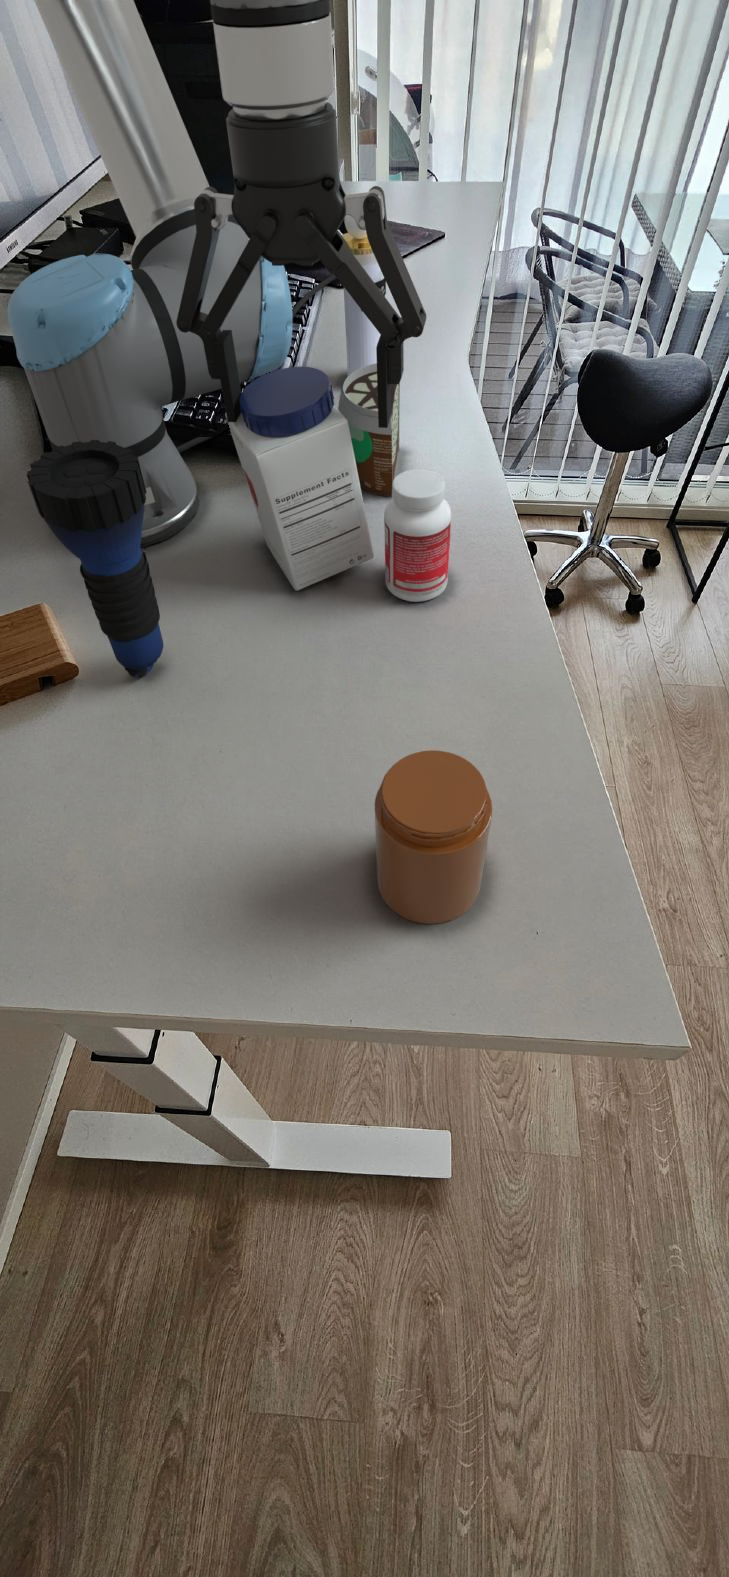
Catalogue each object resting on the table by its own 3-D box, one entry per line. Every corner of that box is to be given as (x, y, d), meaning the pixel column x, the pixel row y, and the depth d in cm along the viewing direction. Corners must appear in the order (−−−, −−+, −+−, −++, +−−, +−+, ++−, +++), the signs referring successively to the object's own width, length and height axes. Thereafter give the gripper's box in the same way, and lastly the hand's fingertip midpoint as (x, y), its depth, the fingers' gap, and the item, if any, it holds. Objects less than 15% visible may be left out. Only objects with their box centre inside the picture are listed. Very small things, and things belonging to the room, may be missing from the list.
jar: (380, 833, 62) (377, 742, 54) (480, 837, 62) (493, 746, 53) (374, 921, 58) (370, 836, 49) (481, 926, 57) (496, 842, 49)
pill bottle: (460, 589, 80) (467, 487, 71) (409, 612, 78) (410, 510, 69) (422, 557, 83) (426, 456, 74) (373, 579, 81) (370, 478, 72)
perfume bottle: (335, 379, 107) (324, 199, 92) (371, 366, 109) (367, 188, 93) (358, 396, 104) (351, 213, 89) (395, 383, 106) (395, 201, 90)
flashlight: (197, 638, 77) (145, 436, 61) (187, 699, 72) (129, 495, 56) (112, 641, 77) (39, 440, 61) (97, 702, 72) (13, 500, 56)
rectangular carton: (265, 546, 85) (221, 410, 74) (342, 514, 86) (311, 375, 75) (294, 594, 80) (252, 455, 68) (376, 559, 81) (349, 417, 69)
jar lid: (275, 383, 75) (269, 362, 73) (350, 391, 72) (346, 370, 70) (227, 431, 71) (220, 411, 70) (305, 442, 68) (299, 421, 66)
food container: (348, 444, 97) (344, 357, 89) (400, 445, 97) (400, 358, 89) (336, 502, 90) (330, 414, 82) (391, 504, 89) (391, 415, 81)
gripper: (468, 88, 55) (454, 402, 72) (124, 95, 59) (186, 393, 75) (459, 115, 51) (446, 444, 67) (86, 121, 54) (161, 433, 70)
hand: (309, 418), depth 71 cm, fingers open, 13 cm apart
